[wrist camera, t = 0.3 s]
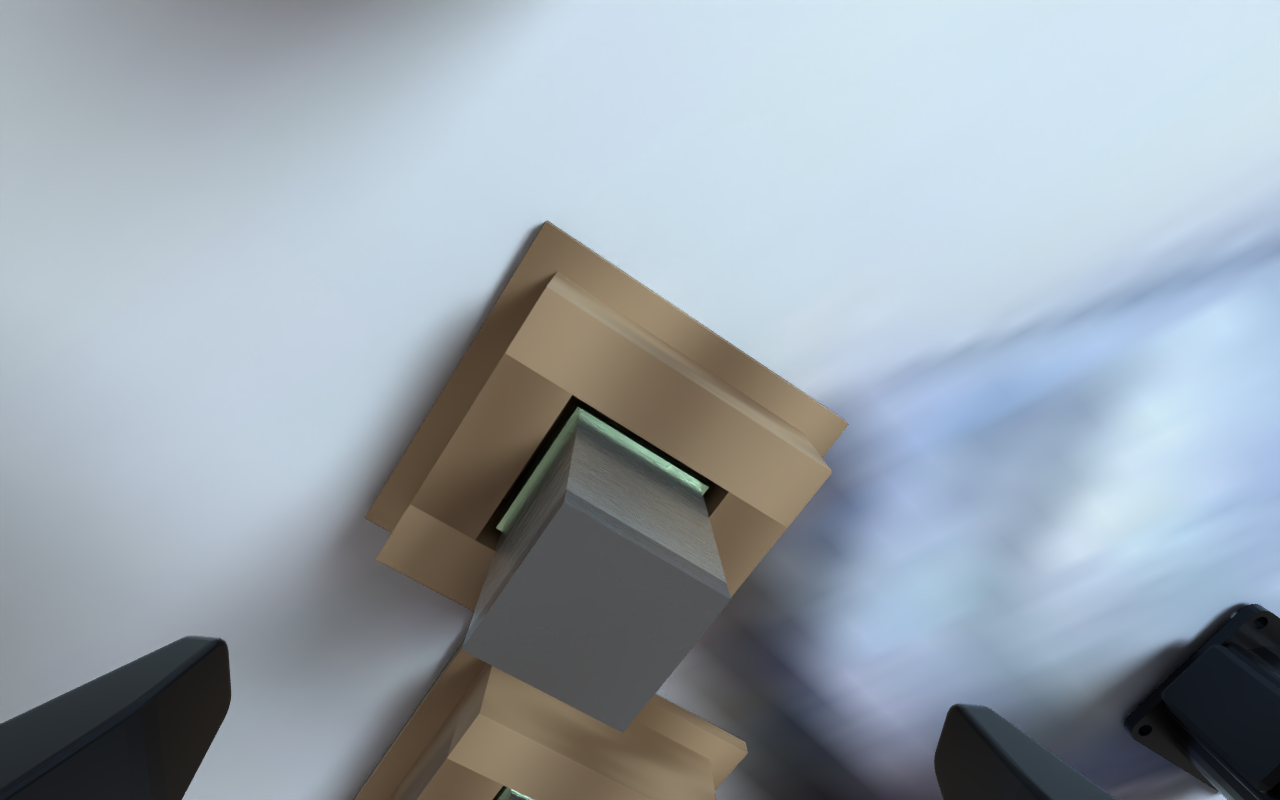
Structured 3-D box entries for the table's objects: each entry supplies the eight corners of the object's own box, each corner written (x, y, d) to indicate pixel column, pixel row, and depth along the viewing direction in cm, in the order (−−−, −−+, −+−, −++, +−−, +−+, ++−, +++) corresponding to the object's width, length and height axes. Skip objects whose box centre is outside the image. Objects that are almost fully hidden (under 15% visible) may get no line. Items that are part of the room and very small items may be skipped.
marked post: (699, 457, 21) (741, 597, 14) (623, 560, 22) (624, 740, 15) (582, 383, 20) (561, 492, 13) (508, 494, 21) (451, 651, 14)
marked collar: (843, 419, 22) (895, 474, 18) (649, 663, 24) (656, 760, 20) (547, 220, 20) (528, 229, 15) (370, 510, 22) (313, 585, 18)
